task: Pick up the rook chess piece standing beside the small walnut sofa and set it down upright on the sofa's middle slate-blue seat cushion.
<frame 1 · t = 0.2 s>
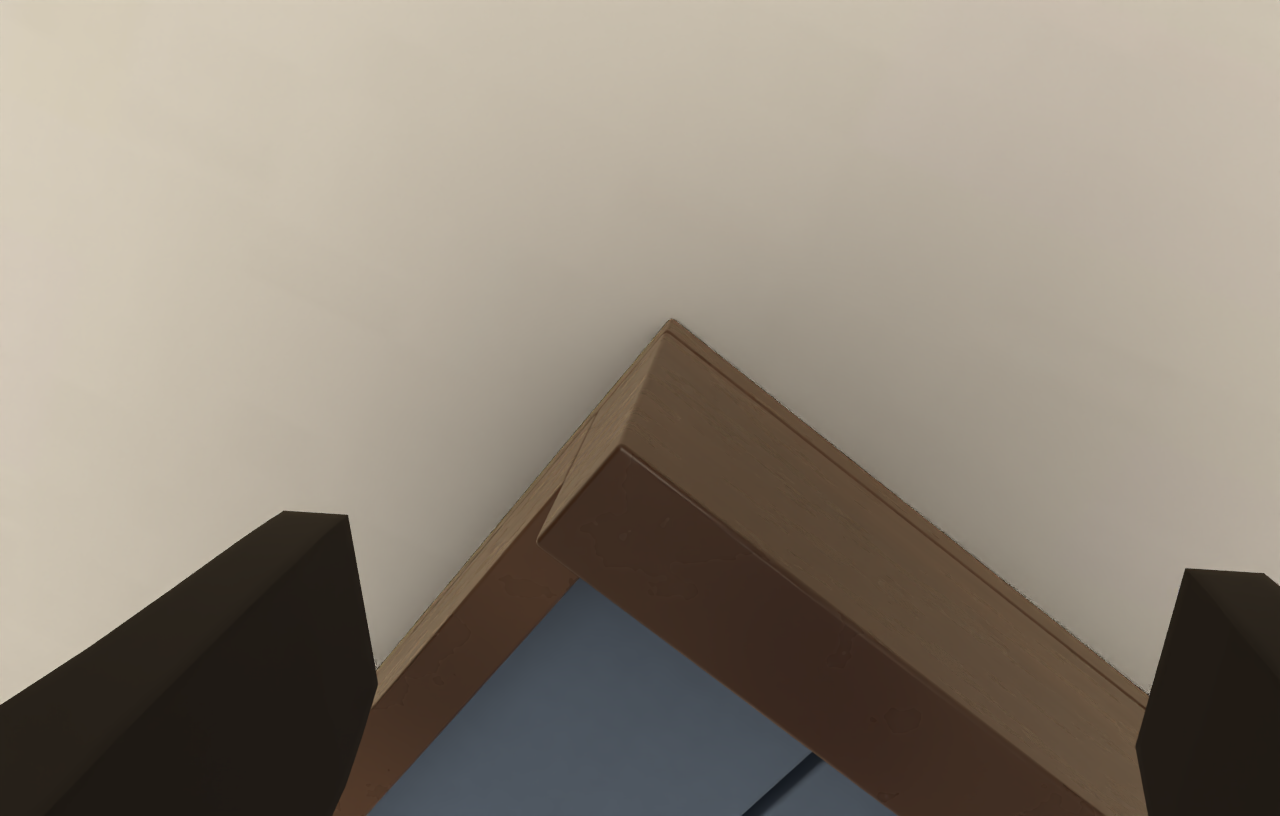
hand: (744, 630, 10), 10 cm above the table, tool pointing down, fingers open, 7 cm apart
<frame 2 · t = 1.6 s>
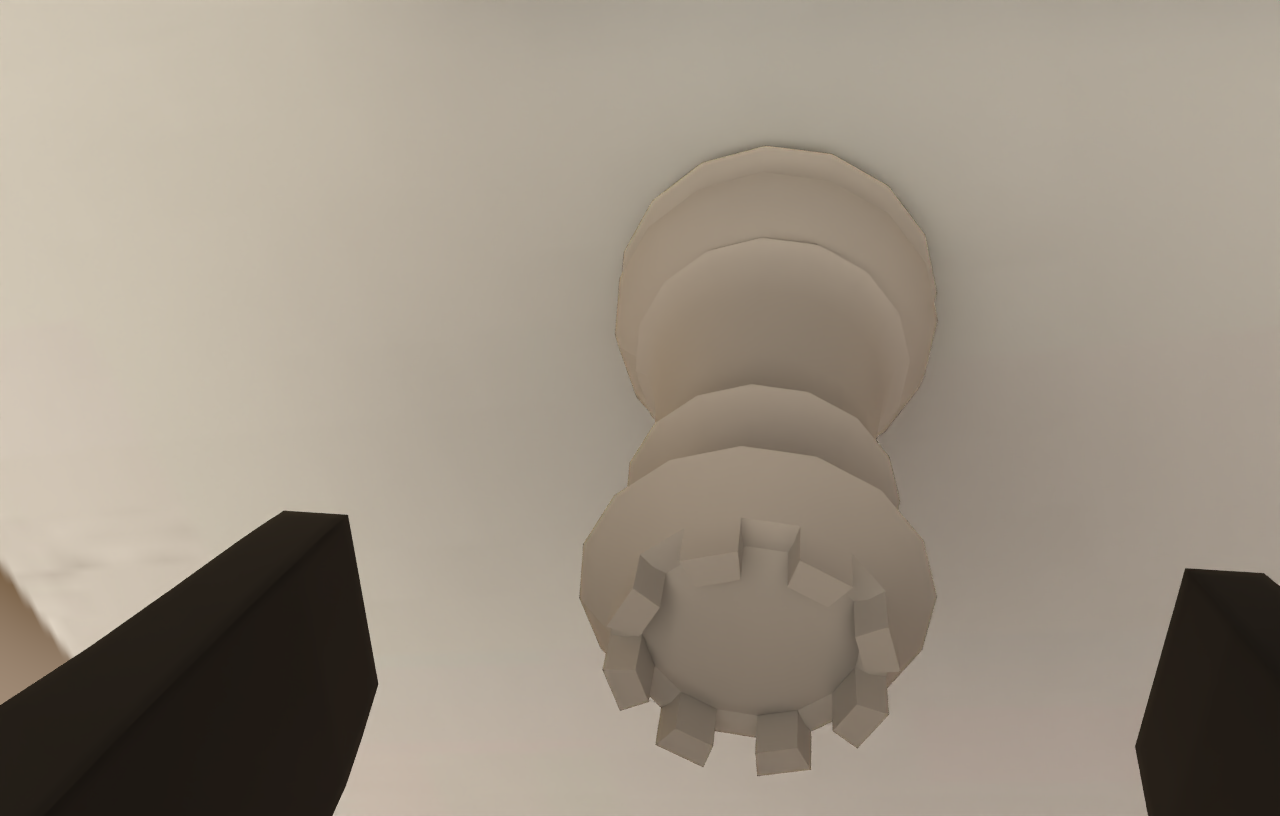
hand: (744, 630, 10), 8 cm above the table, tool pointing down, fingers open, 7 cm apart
rook chess piece: (775, 280, 17), on the table
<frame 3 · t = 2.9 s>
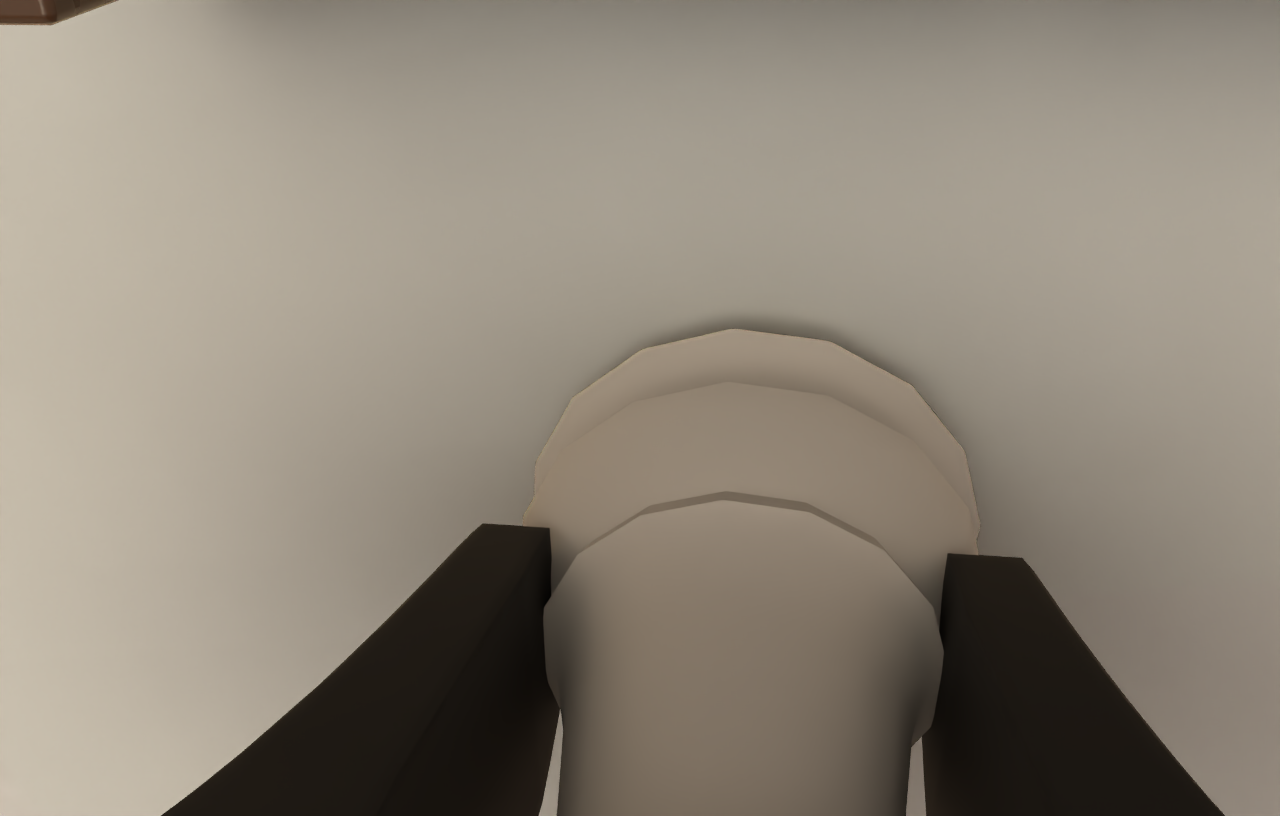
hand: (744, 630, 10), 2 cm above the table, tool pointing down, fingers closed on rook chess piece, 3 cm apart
rook chess piece: (752, 490, 12), on the table, touching gripper
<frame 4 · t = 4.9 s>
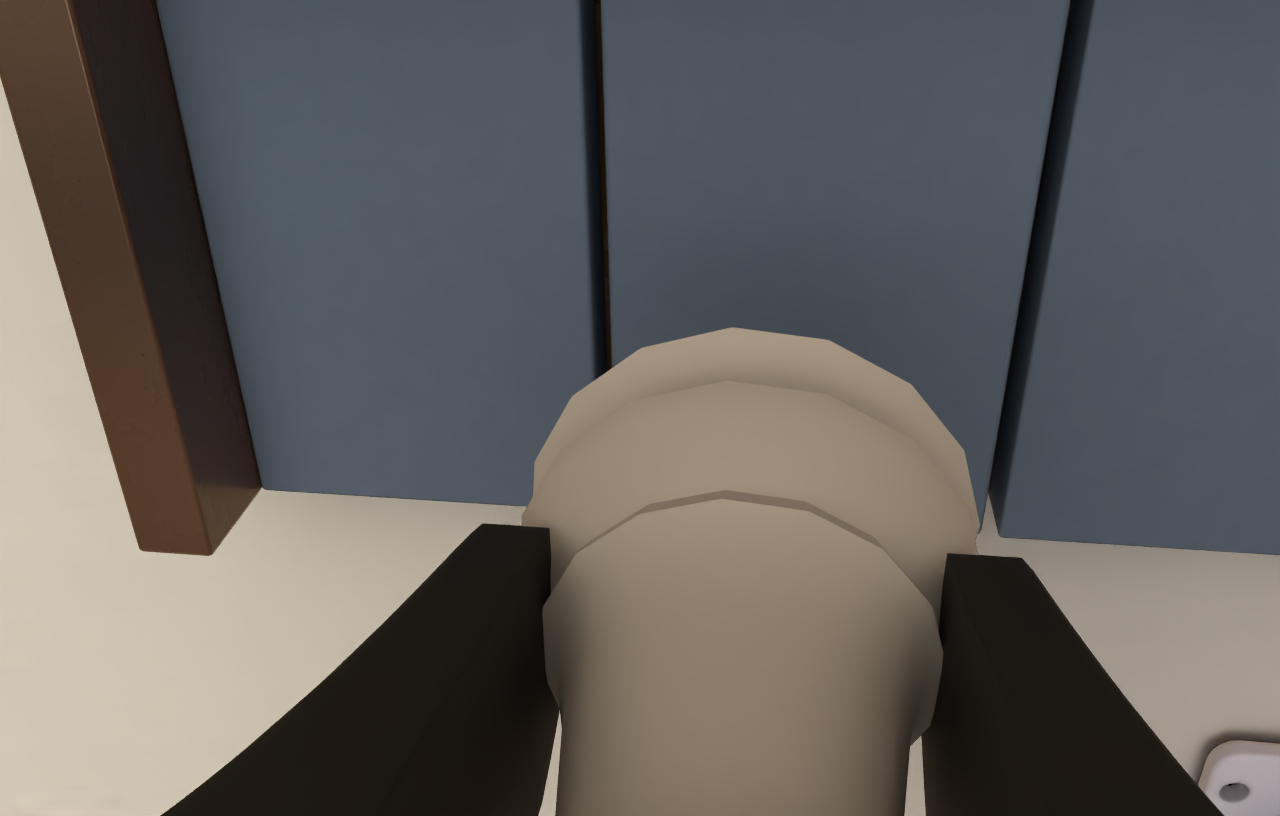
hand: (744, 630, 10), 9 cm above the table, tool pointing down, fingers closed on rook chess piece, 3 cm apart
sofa: (818, 109, 17), on the table
rook chess piece: (751, 489, 12), point 7 cm above the table, touching gripper
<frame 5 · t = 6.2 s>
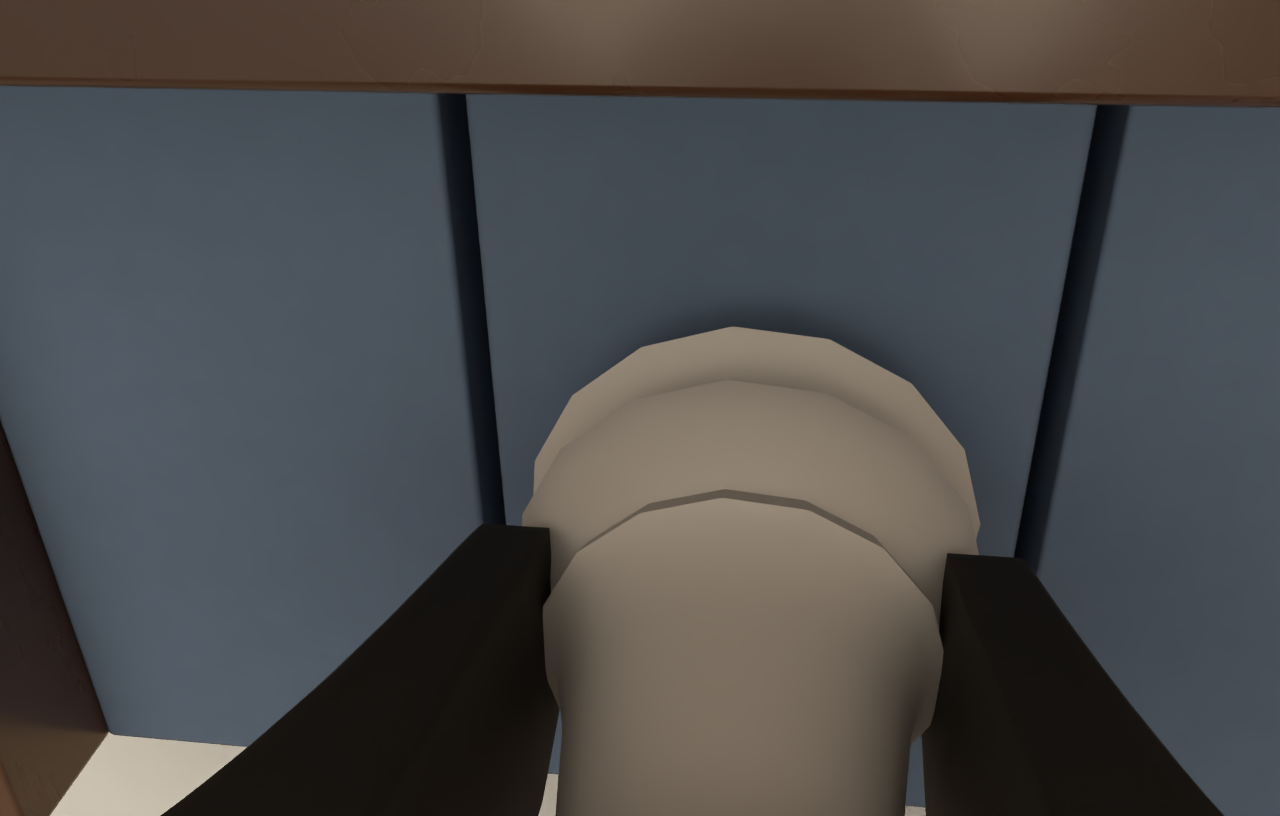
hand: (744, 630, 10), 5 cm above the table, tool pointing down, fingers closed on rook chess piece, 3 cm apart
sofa: (765, 308, 13), on the table
rook chess piece: (751, 489, 12), point 2 cm above the table, touching gripper
when the fingers open (4 cm above the table, at t = 6.7 s): rook chess piece stays where it is, resting on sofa.
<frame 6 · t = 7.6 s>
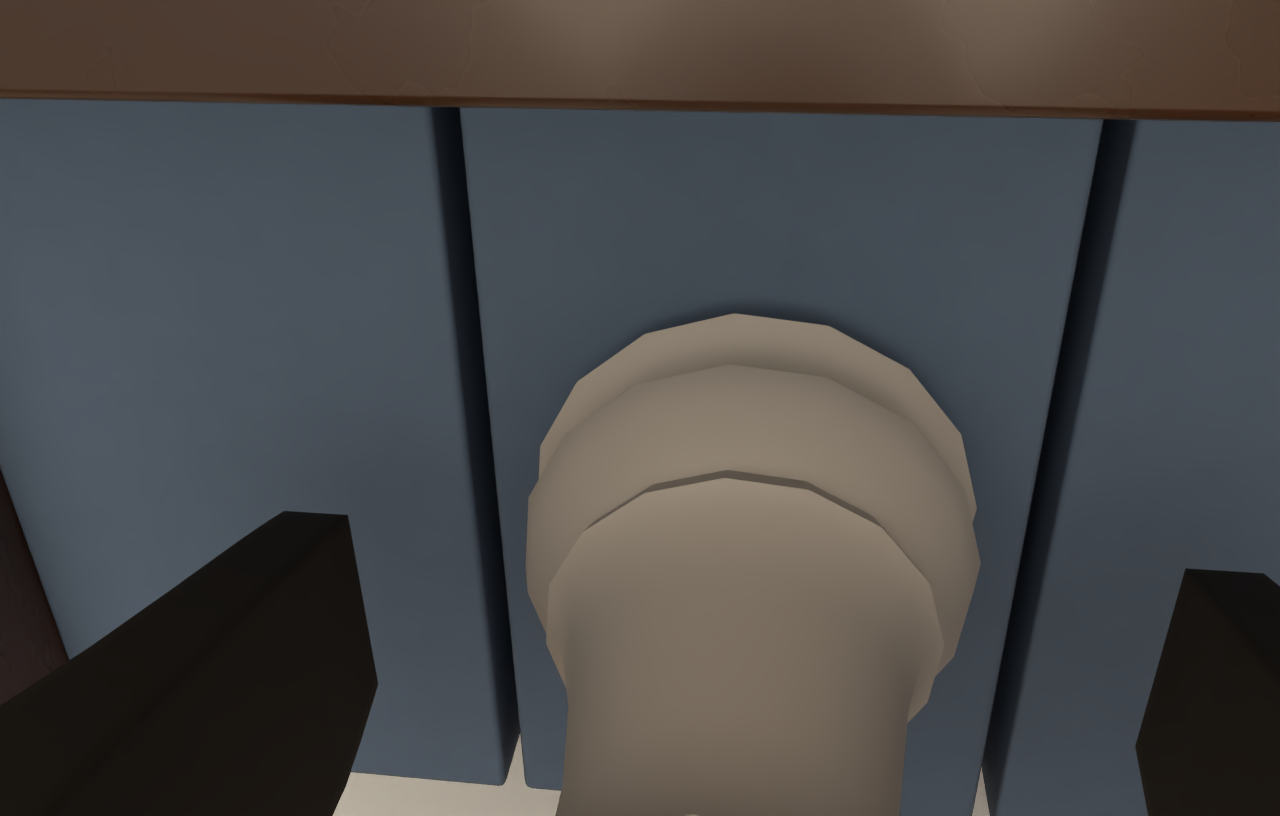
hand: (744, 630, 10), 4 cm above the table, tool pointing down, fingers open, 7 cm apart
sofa: (765, 318, 13), on the table
rook chess piece: (752, 474, 12), point 2 cm above the table, touching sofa
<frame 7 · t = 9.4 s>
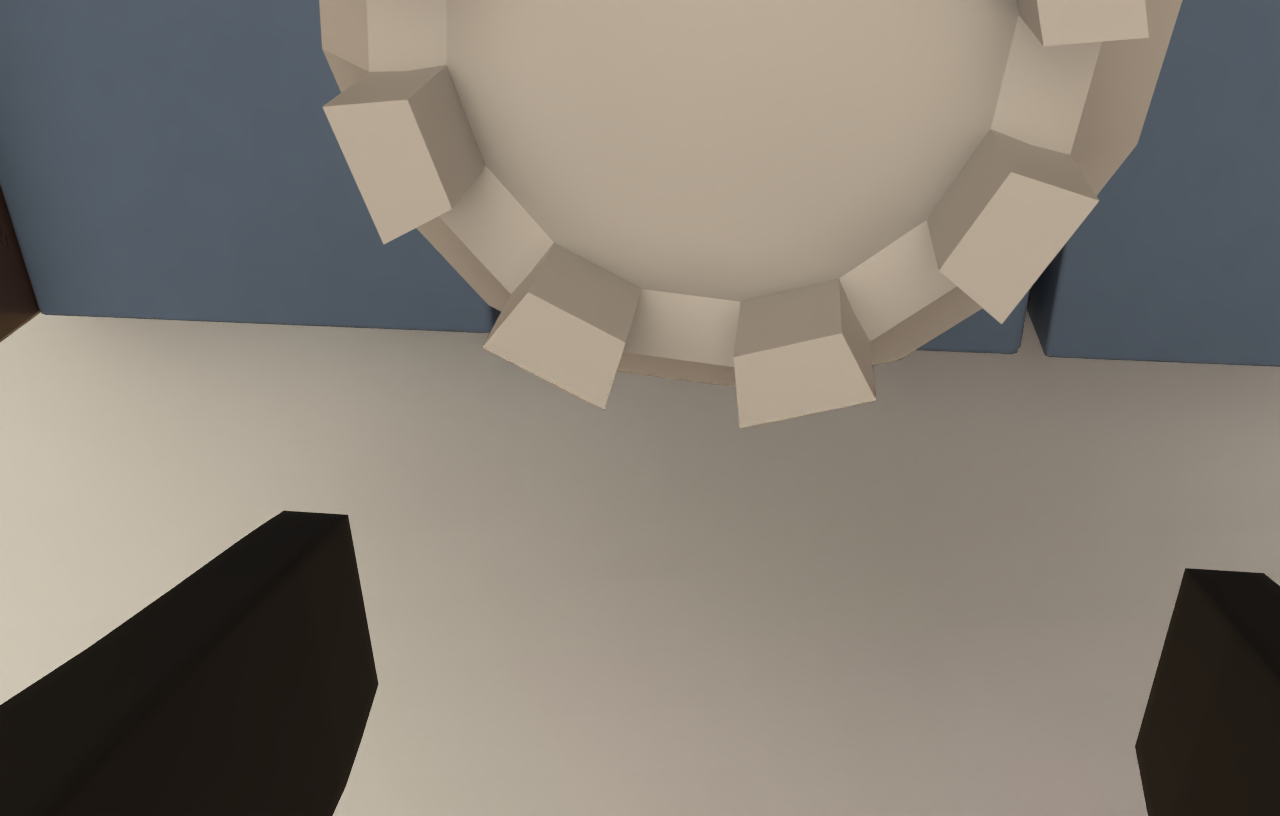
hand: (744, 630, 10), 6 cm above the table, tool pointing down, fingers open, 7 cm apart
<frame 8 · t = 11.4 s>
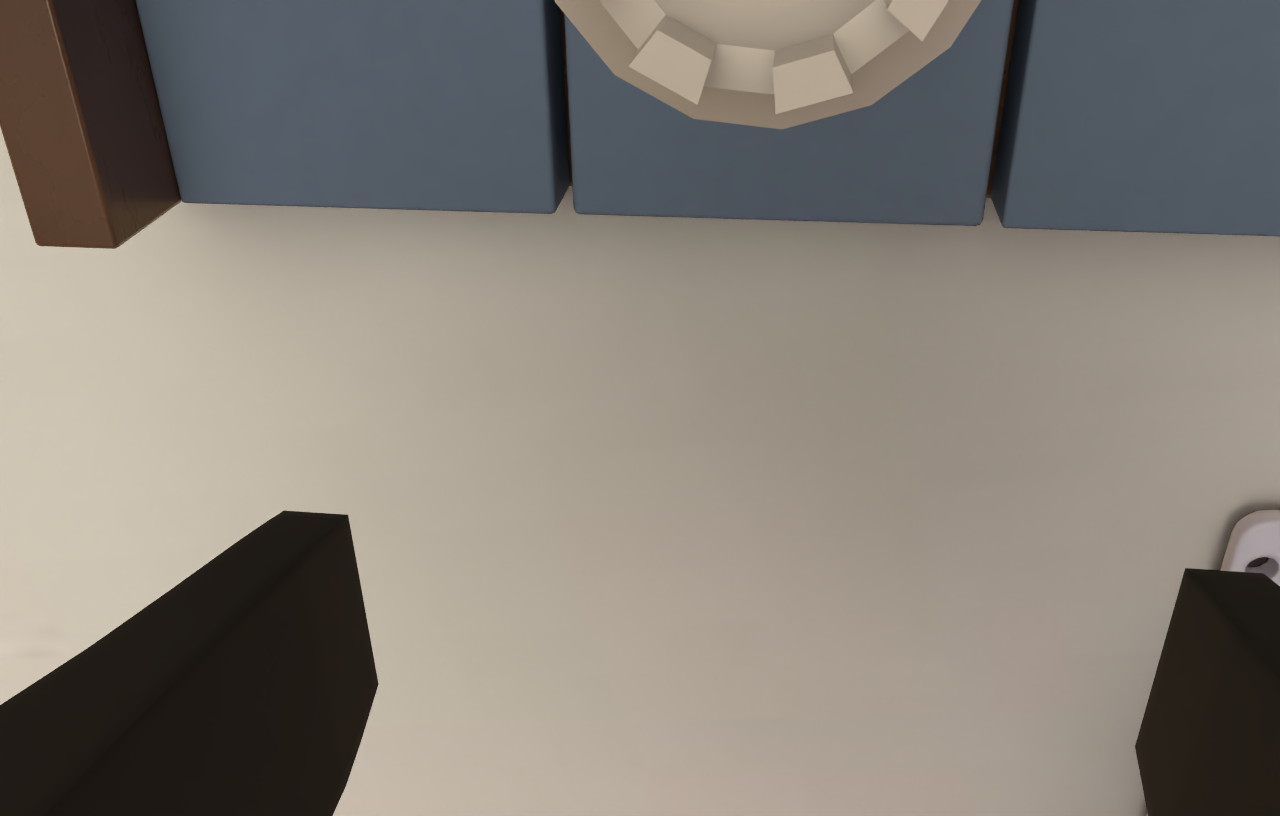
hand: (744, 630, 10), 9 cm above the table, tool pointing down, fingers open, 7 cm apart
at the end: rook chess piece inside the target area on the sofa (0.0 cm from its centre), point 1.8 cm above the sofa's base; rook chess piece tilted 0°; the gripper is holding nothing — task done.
